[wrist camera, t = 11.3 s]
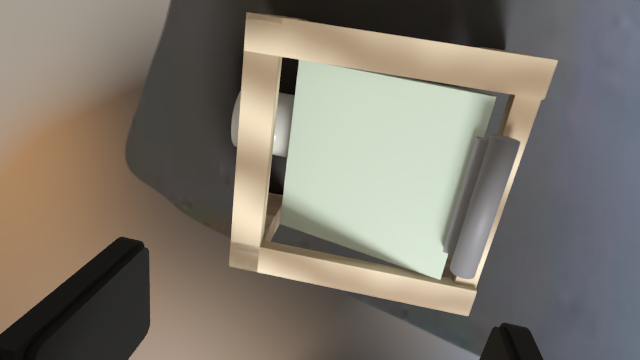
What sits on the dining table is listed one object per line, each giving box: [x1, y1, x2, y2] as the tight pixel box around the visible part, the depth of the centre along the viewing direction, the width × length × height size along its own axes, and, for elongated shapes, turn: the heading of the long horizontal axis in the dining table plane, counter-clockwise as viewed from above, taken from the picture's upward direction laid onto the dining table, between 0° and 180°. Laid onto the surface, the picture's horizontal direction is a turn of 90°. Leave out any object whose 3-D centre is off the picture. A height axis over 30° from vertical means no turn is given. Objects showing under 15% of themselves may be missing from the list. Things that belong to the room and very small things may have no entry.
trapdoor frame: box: [229, 12, 558, 316], centre depth 31 cm, size 18×18×10 cm
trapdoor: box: [280, 60, 521, 280], centre depth 27 cm, size 13×15×3 cm
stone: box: [231, 91, 295, 158], centre depth 34 cm, size 5×5×5 cm
